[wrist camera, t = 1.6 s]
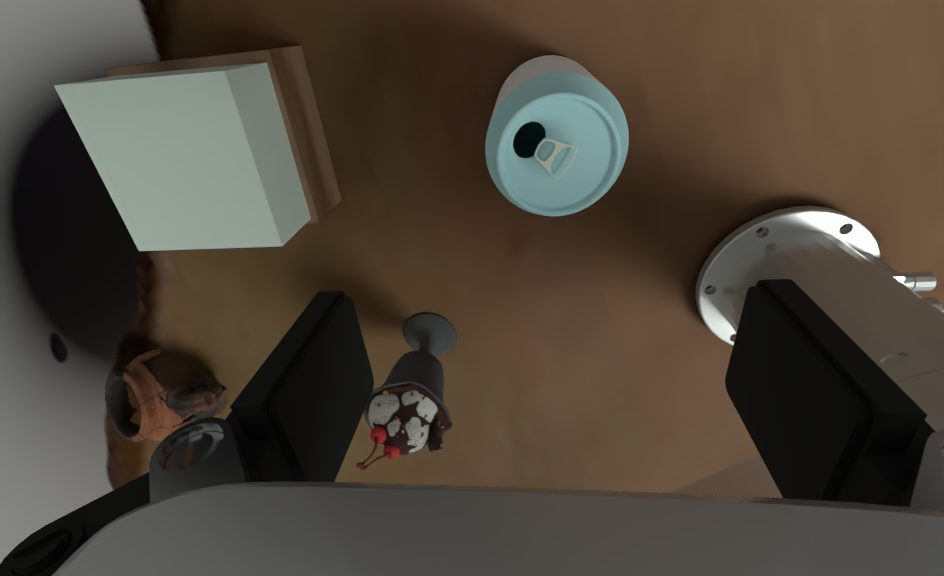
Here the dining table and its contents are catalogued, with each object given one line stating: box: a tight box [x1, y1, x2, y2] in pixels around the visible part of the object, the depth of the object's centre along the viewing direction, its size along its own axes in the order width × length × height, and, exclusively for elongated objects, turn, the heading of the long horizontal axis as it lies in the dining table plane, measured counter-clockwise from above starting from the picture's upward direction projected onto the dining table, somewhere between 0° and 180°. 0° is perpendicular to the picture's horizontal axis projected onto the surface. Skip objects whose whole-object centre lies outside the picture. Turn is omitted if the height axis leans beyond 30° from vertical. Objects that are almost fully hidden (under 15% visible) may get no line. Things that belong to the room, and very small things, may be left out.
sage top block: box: [54, 63, 311, 251], centre depth 28 cm, size 10×10×4 cm
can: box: [485, 55, 629, 216], centre depth 26 cm, size 7×7×12 cm
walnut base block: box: [105, 45, 341, 224], centre depth 32 cm, size 11×11×5 cm
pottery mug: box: [105, 349, 228, 442], centre depth 46 cm, size 12×9×8 cm
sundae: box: [357, 313, 456, 470], centre depth 36 cm, size 7×7×15 cm
